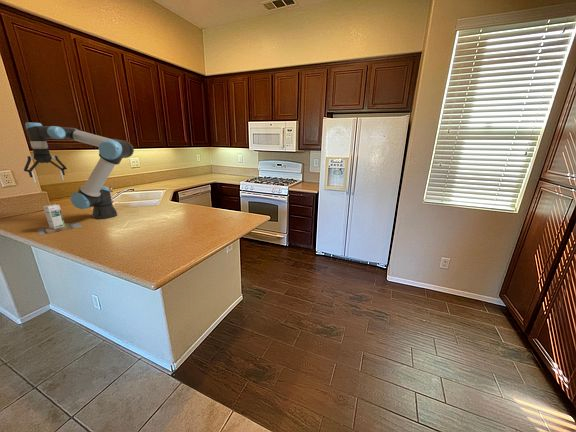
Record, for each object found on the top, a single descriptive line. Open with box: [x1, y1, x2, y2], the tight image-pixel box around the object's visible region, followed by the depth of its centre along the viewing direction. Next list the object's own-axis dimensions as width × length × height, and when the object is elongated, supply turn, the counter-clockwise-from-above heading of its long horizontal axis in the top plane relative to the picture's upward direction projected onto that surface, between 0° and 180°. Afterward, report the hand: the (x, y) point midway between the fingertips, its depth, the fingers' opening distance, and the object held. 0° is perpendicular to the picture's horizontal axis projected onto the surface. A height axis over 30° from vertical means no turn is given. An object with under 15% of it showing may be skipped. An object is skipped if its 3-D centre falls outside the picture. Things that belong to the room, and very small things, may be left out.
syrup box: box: [42, 203, 65, 229], centre depth 150 cm, size 6×6×14 cm
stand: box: [43, 222, 74, 234], centre depth 152 cm, size 12×12×1 cm
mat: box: [37, 221, 84, 236], centre depth 154 cm, size 20×14×1 cm
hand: (49, 181), depth 159 cm, fingers open, 13 cm apart
